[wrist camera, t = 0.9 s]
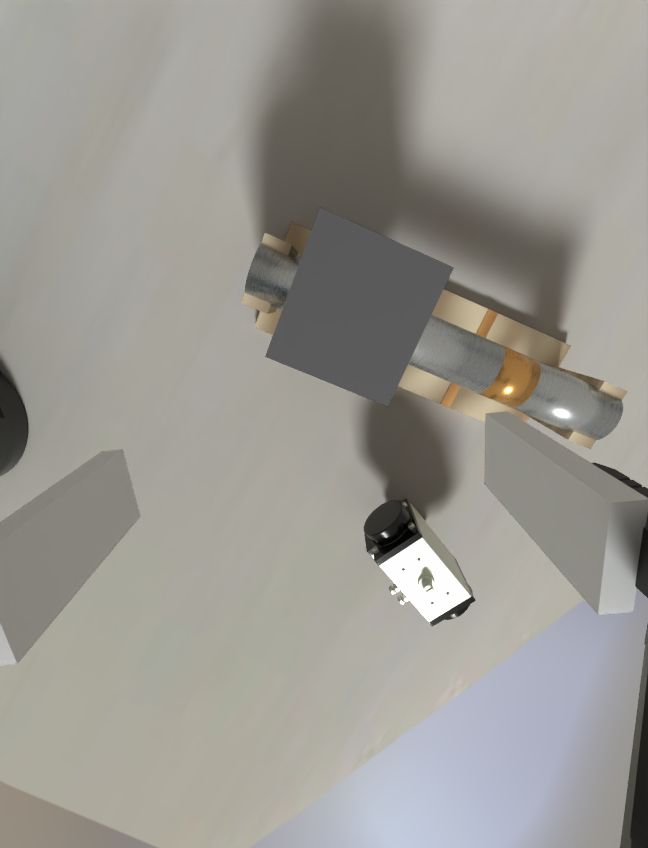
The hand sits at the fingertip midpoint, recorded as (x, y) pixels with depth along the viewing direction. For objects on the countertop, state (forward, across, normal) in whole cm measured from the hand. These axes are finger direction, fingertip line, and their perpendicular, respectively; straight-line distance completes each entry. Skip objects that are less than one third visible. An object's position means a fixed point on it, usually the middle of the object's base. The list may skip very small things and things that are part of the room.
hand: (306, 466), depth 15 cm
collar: (+22, +3, +5) cm, 23 cm away
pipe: (+20, +9, +1) cm, 22 cm away
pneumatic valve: (+28, +8, -19) cm, 35 cm away
